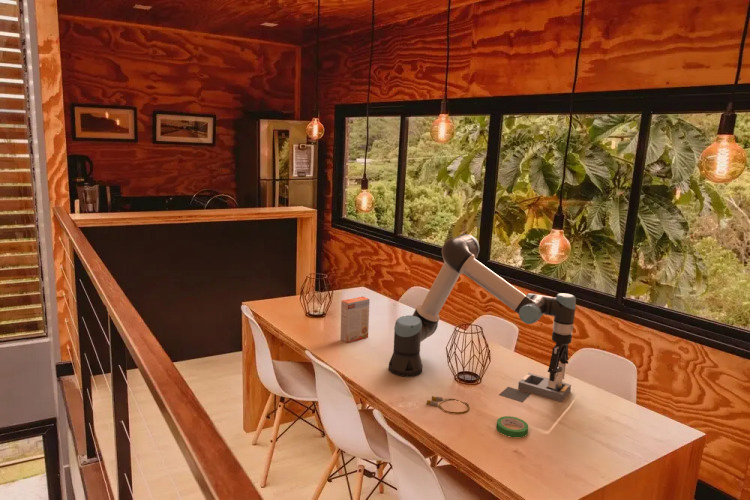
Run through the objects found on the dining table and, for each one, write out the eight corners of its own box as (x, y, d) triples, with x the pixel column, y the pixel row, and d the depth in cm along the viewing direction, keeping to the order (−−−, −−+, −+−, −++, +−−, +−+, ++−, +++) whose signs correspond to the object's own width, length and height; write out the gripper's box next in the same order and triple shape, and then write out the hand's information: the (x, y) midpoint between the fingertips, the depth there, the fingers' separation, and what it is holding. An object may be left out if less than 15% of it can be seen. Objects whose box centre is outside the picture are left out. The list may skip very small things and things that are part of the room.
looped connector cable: (442, 394, 224) (442, 390, 224) (474, 408, 214) (475, 404, 214) (423, 404, 216) (423, 399, 215) (456, 419, 205) (456, 414, 205)
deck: (522, 404, 218) (522, 402, 218) (498, 397, 224) (498, 394, 223) (531, 395, 226) (531, 393, 226) (507, 388, 232) (508, 386, 231)
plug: (559, 396, 225) (562, 370, 222) (549, 393, 227) (552, 368, 225) (561, 393, 228) (564, 367, 226) (552, 390, 230) (555, 364, 228)
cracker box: (361, 334, 287) (362, 295, 283) (368, 338, 282) (370, 298, 278) (339, 339, 278) (340, 299, 274) (346, 343, 274) (348, 303, 269)
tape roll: (527, 425, 203) (527, 418, 203) (528, 440, 193) (529, 433, 192) (496, 420, 205) (497, 414, 205) (495, 435, 195) (496, 428, 194)
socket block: (561, 404, 220) (562, 394, 219) (517, 390, 230) (518, 381, 229) (570, 393, 230) (571, 384, 229) (527, 381, 240) (528, 372, 239)
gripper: (562, 342, 211) (556, 395, 215) (580, 326, 230) (573, 376, 234) (543, 337, 215) (537, 389, 219) (561, 322, 234) (556, 371, 238)
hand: (556, 382), depth 227 cm, fingers open, 11 cm apart
